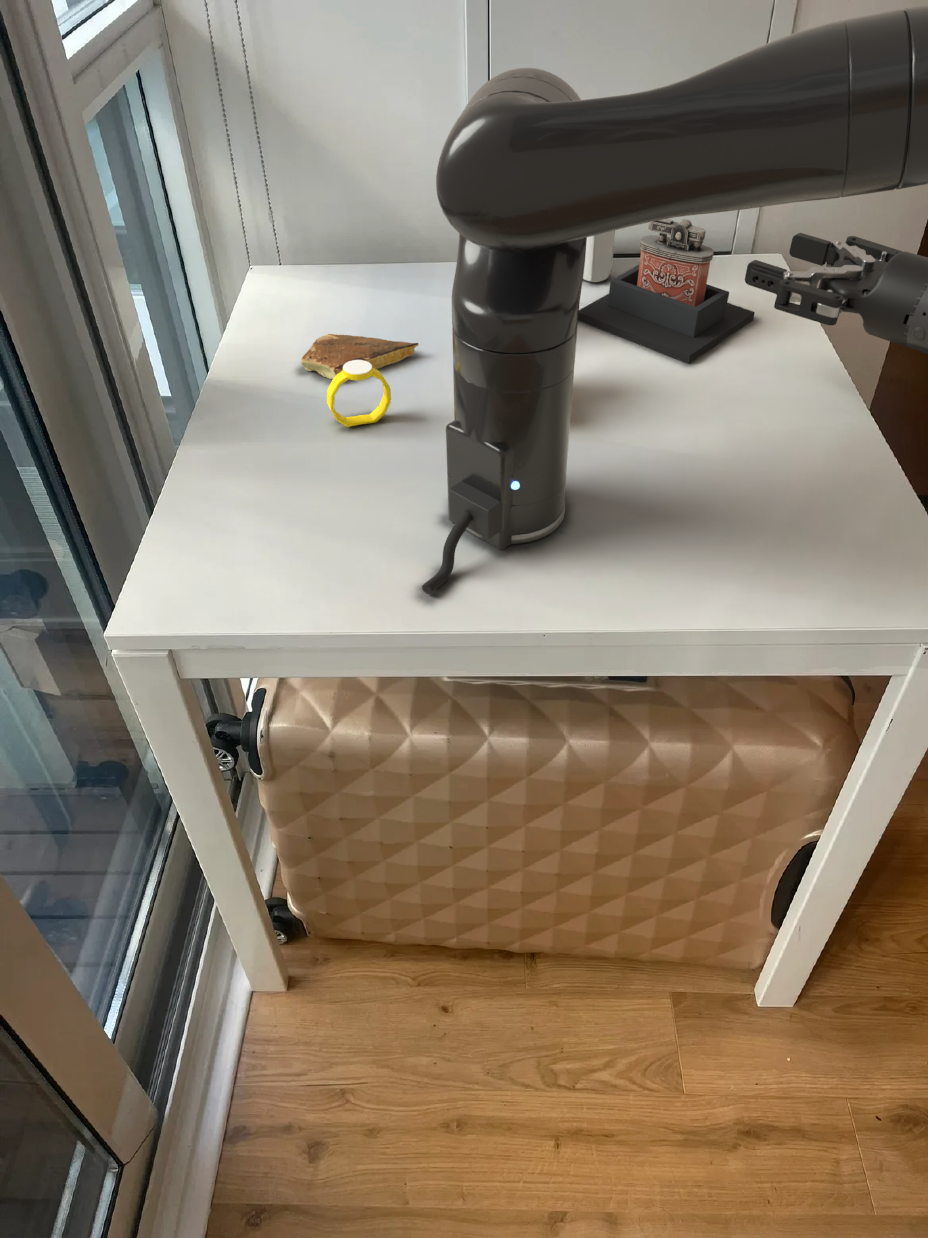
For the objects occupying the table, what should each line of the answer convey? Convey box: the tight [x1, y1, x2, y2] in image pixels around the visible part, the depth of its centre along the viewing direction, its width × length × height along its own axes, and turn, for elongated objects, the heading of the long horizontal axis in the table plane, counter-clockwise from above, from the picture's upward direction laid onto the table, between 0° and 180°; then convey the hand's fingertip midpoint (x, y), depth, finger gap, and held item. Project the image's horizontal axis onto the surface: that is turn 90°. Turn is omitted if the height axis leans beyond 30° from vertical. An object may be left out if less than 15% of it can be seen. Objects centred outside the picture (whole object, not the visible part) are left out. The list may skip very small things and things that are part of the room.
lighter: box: [637, 218, 715, 307], centre depth 102 cm, size 8×3×10 cm, turn 57°
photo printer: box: [583, 230, 616, 283], centre depth 112 cm, size 10×4×12 cm, turn 39°
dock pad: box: [578, 263, 756, 365], centre depth 105 cm, size 13×15×4 cm
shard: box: [300, 333, 419, 380], centre depth 99 cm, size 11×8×2 cm
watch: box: [326, 360, 392, 428], centre depth 90 cm, size 6×3×6 cm, turn 111°
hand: (770, 256), depth 92 cm, fingers open, 8 cm apart
